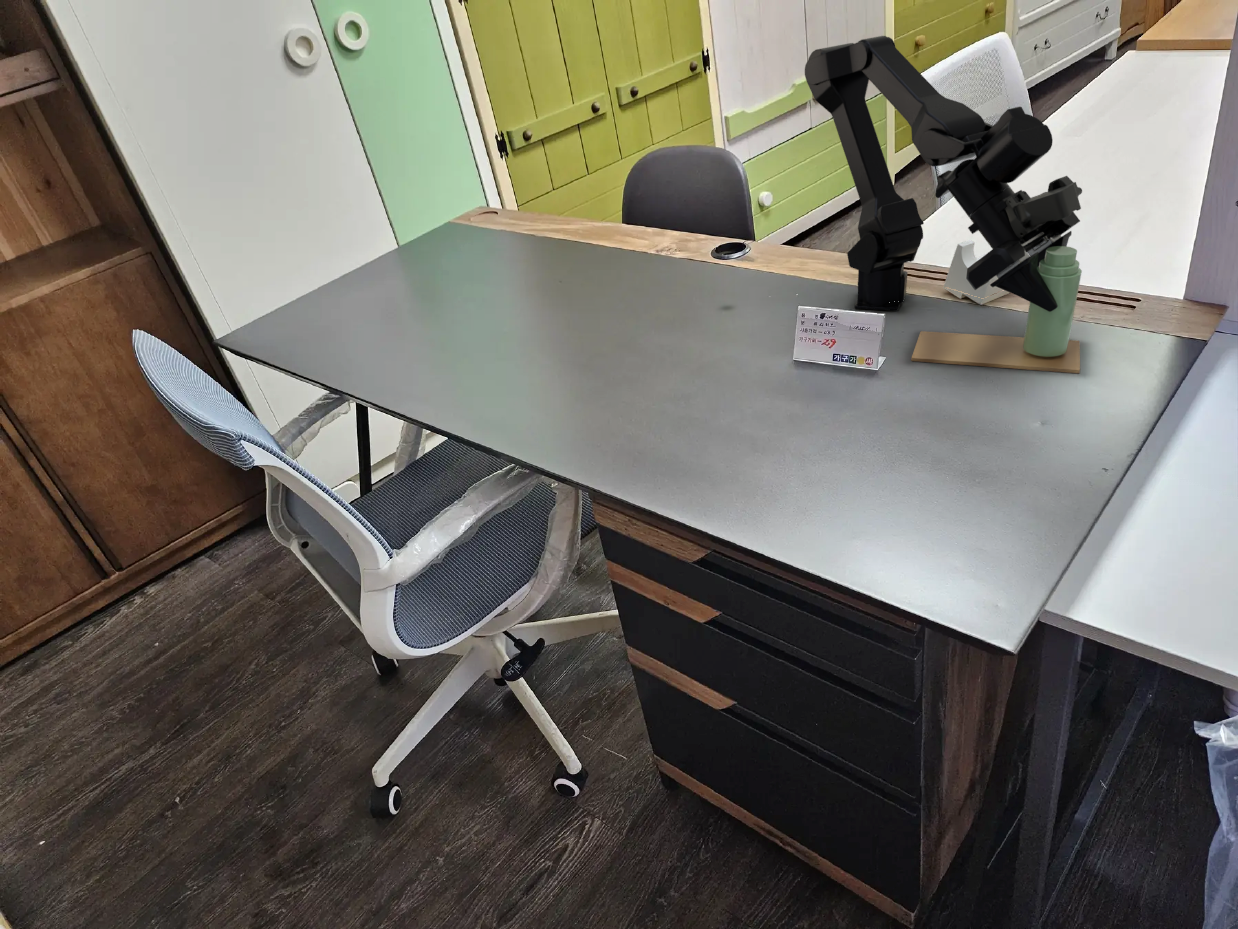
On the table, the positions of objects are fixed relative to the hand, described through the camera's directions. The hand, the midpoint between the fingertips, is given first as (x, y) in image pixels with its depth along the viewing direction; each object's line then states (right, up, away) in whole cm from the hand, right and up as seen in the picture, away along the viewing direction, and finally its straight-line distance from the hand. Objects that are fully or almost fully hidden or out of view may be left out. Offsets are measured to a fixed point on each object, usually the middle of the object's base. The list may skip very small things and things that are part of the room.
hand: (1064, 302), depth 105 cm
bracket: (+3, +7, +26) cm, 27 cm away
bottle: (0, -5, +4) cm, 7 cm away
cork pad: (-6, -5, +7) cm, 11 cm away
